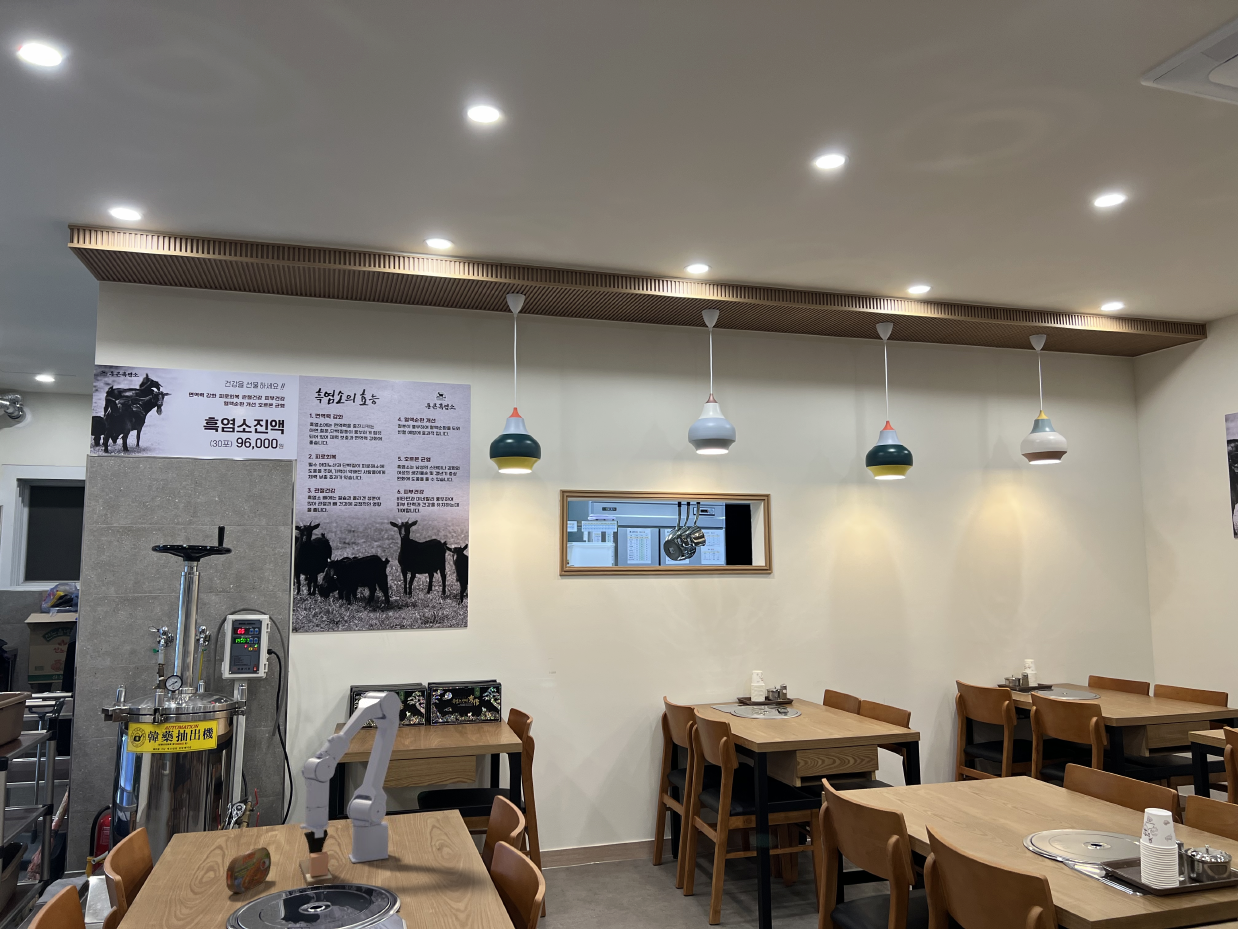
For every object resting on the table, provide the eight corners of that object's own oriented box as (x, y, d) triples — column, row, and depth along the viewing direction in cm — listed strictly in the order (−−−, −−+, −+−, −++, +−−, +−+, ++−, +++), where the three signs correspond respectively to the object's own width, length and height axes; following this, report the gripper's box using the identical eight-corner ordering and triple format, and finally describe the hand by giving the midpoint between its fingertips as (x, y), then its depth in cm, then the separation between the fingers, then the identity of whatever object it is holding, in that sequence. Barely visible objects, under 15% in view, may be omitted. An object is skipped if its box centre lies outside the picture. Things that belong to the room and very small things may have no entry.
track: (322, 863, 230) (322, 857, 230) (333, 885, 211) (333, 878, 211) (299, 866, 228) (299, 860, 228) (307, 888, 208) (307, 882, 208)
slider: (325, 870, 217) (326, 851, 217) (327, 874, 213) (328, 855, 214) (309, 872, 215) (309, 853, 216) (310, 876, 211) (311, 857, 212)
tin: (234, 897, 203) (236, 859, 204) (222, 897, 204) (224, 859, 205) (271, 878, 217) (273, 843, 219) (260, 878, 218) (262, 843, 220)
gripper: (298, 802, 228) (296, 857, 226) (303, 813, 216) (301, 870, 213) (325, 799, 231) (324, 853, 229) (332, 809, 219) (331, 866, 216)
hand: (315, 861), depth 221 cm, fingers closed
